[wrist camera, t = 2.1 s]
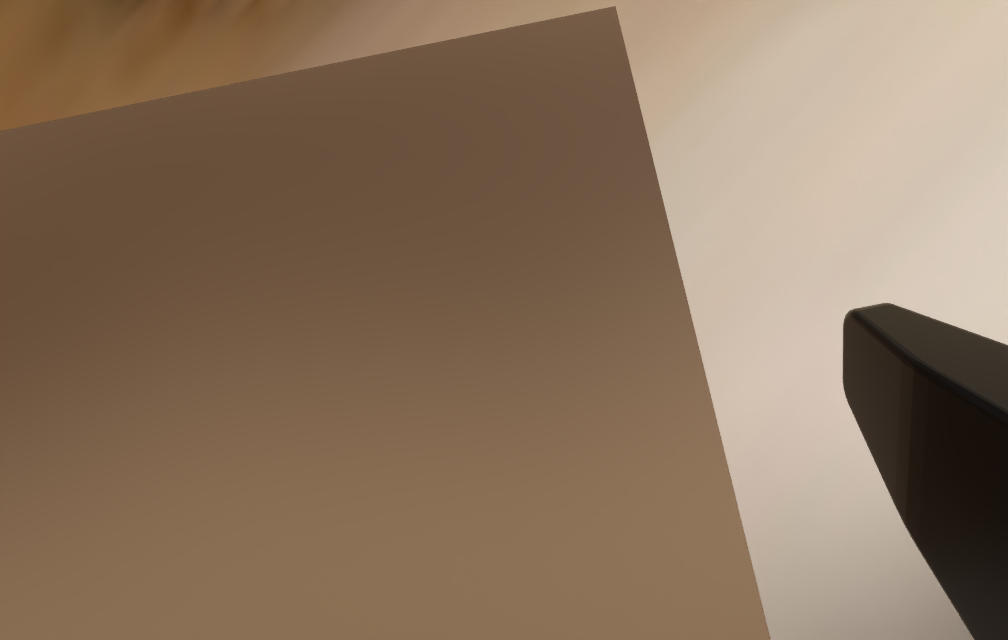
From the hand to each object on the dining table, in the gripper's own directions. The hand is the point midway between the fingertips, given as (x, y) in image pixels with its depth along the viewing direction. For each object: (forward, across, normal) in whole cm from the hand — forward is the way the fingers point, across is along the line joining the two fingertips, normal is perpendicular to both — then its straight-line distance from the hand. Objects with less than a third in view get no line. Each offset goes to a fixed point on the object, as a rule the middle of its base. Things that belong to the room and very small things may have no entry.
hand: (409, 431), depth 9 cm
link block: (+6, 0, +6) cm, 8 cm away
